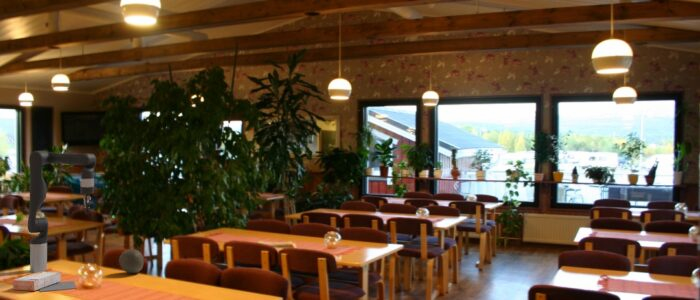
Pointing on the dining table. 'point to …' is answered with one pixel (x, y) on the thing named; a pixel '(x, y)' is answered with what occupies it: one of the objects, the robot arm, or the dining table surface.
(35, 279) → the cracker box
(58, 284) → the mat
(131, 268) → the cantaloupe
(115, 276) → the dining table surface
